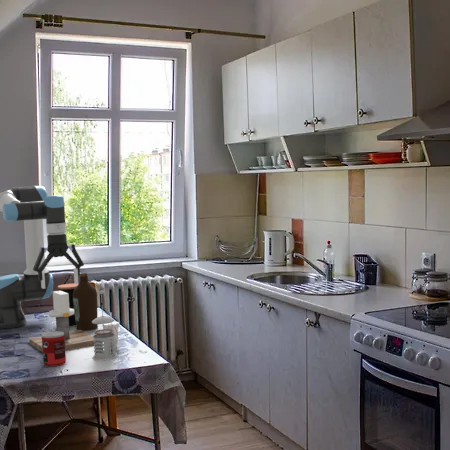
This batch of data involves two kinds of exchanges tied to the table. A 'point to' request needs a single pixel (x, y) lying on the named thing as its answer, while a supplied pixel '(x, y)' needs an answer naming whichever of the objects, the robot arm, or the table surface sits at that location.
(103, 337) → the french press
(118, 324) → the smoothie
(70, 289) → the coffee jar
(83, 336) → the post board
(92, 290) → the olive oil
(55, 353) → the canned food
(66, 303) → the cap
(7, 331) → the table surface
